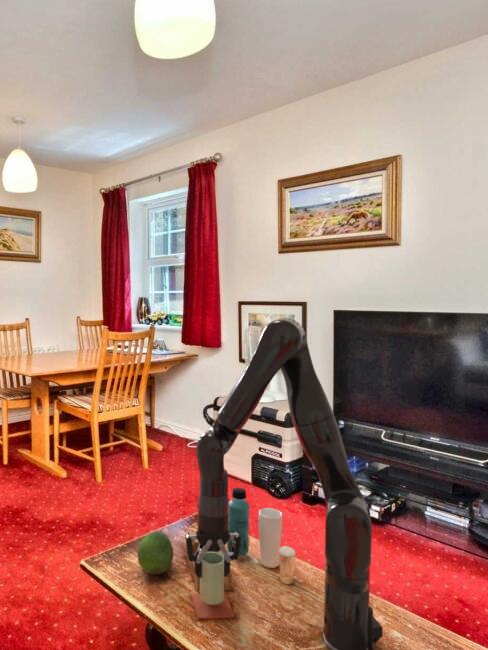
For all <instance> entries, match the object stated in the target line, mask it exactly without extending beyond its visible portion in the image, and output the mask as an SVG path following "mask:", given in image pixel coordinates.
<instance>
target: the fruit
mask: <svg viewBox="0 0 488 650" xmlns="http://www.w3.org/2000/svg"><path fill="white" fill-rule="evenodd" d="M173 559H174V548H173V545H172V542H171V540H170V538H169V536H168V535H167V534H166V533H164V532H162V531H153V532H150V533H149V534H147V535H145V536H144V537H143V538H142V539H141V541H140V542H139V544H138V547H137V563H138V564H139V566H140V568H141V570H143V571H144V572H145V573H147V574H149V575H160V574H161V575H162V574H163V573H164V572H166V571H168V569H169V568H170V567H171V565H172V562H173Z"/></svg>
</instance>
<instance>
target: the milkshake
mask: <svg viewBox="0 0 488 650" xmlns="http://www.w3.org/2000/svg"><path fill="white" fill-rule="evenodd" d="M297 552H298V549H296V550H295V549H294V548H292V547H291V546H288V545H283V546H280V549H279V577H280V580H279V581H280V582H281V583H283V584H285V585H292V584H293V582H294V576H295V575H294V574H295V564H296V557H297Z"/></svg>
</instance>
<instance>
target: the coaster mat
mask: <svg viewBox="0 0 488 650" xmlns="http://www.w3.org/2000/svg"><path fill="white" fill-rule="evenodd" d="M190 596H191V600H192V604H193V608H194V610H195V614H196V617H197V620H214V619H216V620H217V619H234V618H235V617H236V615H235V613H234V611H233V608H232V606H231V603H230V601H229V599H228V596H227V594H226V592H224V600H223V602H222V603H220V604H217V605H210V604H207V603H205V602H203V601H202V600H201V599H200V593H197V594H194V593H193V594H191V595H190Z"/></svg>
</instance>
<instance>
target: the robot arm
mask: <svg viewBox="0 0 488 650" xmlns="http://www.w3.org/2000/svg"><path fill="white" fill-rule="evenodd" d="M314 367H315V366H314V364H313V359H312V357H311V353H310V348H309V344H308V340H307V335H306V332H305V330H304V328H303V326H302V325H301V324H300V323H299V322H298V321H297V320H295V319H293V318H290V317H280V318H277V319H276V318H275V319H273V320H272V321H270V322H268V323H267V324H266V325H265V326H264V328H263V330H262V333H261V335H260V338H259V340H258V343H257V346H256V348H255V350H254V353H253V355H252V357H251V358H250V360H249V362H248V365H247V366H246V367H245V370H244V371H243V373H242V374H241V375H240V377H239V379H238V380H237V381H236V383H235V384H234V386H233V388H232V389H231V391H230V392H229V393H228V395H227V396H226V398H225V399H224V401H223V403H222V404H221V406H220V408H219V409H218V411H217V414H216V418H215V420H214V421H213V423H212V424H211V426H210V427H209V428H208V430H207V431H205V432H203V434H201V435H200V436H199V437H198V439H197V442H196V448H195V449H196V450H195V453H196V460H197V466H198V472H199V492H198V499H197V501H198V502H197V530H196V532H195V533H192V534H190V533H189V532H186V533H185V534H184V539H185V546H186V547H187V555H188V558H189V561H194V562H195V573H196V575H198V578H201V566H202V564H201V561H202V559H203V557H204V556H205V555H206V553H207V552H208V551H220V550H221V552H222V554H223V556H224V558H225V577H228V574H230V572H231V562H232V561H234V560H235V561H238V559H239V556H238V555H239V549H240V542H241V537H240V535H239V534H238V532H234V533H229V531H228V520H229V502H230V498H229V474H228V471H227V469H226V468H225V462H224V459H225V455H226V454H227V453H228V452H229V451H230V450H231V448H232V446H233V445H234V443H235V442H236V440H237V438H238V436H239V434H240V432H241V430H242V429H243V427H244V426H245V425H246V424H247V422H248V421H249V419H250V417H251V416H252V415H253V413H254V412H255V410H256V408H257V407H258V405H259V403H260V401H261V399H262V397H263V396H264V394H265V392H266V389H267V388H268V386H269V384H270V383H271V381H272V380H273V379H274V377H275V376H276V375H277V373H278V372H279V371H281V373H282V376H283V380H284V382H285V389H286V396H287V403H288V410H289V415H290V419H291V421H292V425H293V427H294V431H295V433H296V436H297V438H298V441H299V443H300V445H301V447H302V449H303V451H304V454H305V455H306V457H307V459H308V460H309V462H310V463H311V465H312V467H313V468H314V470H315V472H316V474H317V476H318V479H319V481H320V486H321V488H322V491H323V496H324V501H325V506H326V507H325V508H326V511H325V512H326V513H325V524H324V525H325V528H324V529H325V531H324V533H325V534H324V598H323V599H324V601H323V602H324V607H323V610H324V611H323V632H322V635H323V636H322V637H323V638H322V639H323V643H324V645H325V646H326V648H328V649H329V650H373V644H374V645H376V644H377V643H378V641H379V640H380V639H381V638H383V626H382V625H381V623H380V622H379V621H378V620H377V619H376V618H375V616H374V609H373V608H372V606H371V605H370V585H371V584H370V580H371V577H370V575H371V563H372V539H373V538H372V535H373V533H372V532H373V529H372V528H373V527H372V517H371V510H370V508H369V505H368V503H367V502H366V500H365V499H366V498H365V497H364V496H363V493H362V492H361V489H360V487H359V485H358V483H357V481H356V479H355V477H354V474H353V473H352V470H351V467H350V464H349V461H348V456H347V452H346V448H345V444H344V440H343V437H342V435H341V431H340V428H339V425H338V422H337V420H336V417H335V414H334V411H333V409H332V407H331V404H330V402H329V400H328V397H327V394H326V392H325V390H324V388H323V385H322V383H321V381H320V378H319V377H318V375H317V373H316V369H315V368H314ZM230 538H231V541H232V548H231V552H230V553H229V552H228V549H227V547H226V545H227V542H228V540H229V539H230ZM195 541H199V545H198V549H197V551H196V553H195V554H194V553H193V548H192V545H193V544H194V543H195ZM186 547H185V548H186Z"/></svg>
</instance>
